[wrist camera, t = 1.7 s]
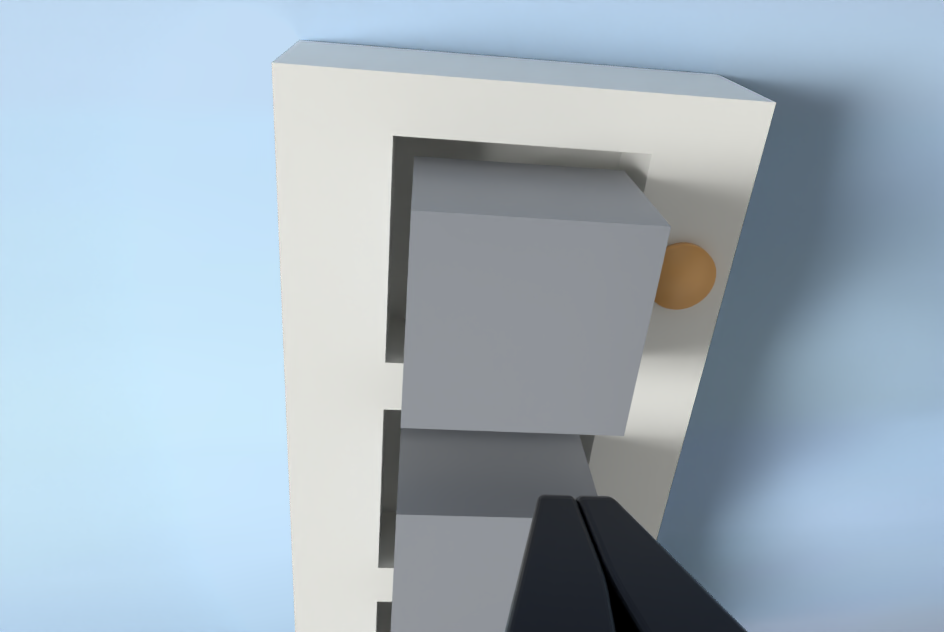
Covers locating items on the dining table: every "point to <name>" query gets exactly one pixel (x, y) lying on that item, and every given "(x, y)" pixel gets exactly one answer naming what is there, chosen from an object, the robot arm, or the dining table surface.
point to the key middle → (472, 521)
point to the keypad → (387, 253)
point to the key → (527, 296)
